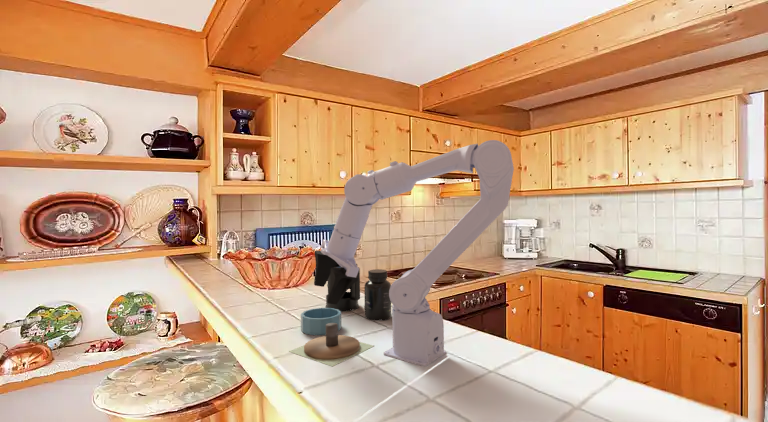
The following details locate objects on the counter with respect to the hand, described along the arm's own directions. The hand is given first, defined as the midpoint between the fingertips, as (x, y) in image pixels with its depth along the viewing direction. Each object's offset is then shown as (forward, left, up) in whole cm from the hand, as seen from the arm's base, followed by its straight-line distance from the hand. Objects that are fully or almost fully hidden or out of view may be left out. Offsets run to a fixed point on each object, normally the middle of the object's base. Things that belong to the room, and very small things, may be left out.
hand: (325, 294), depth 80 cm
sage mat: (-3, +1, -11) cm, 11 cm away
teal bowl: (+8, -7, -11) cm, 15 cm away
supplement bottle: (+3, -22, -11) cm, 24 cm away
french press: (+17, -24, -11) cm, 31 cm away
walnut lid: (-3, +1, -10) cm, 11 cm away
